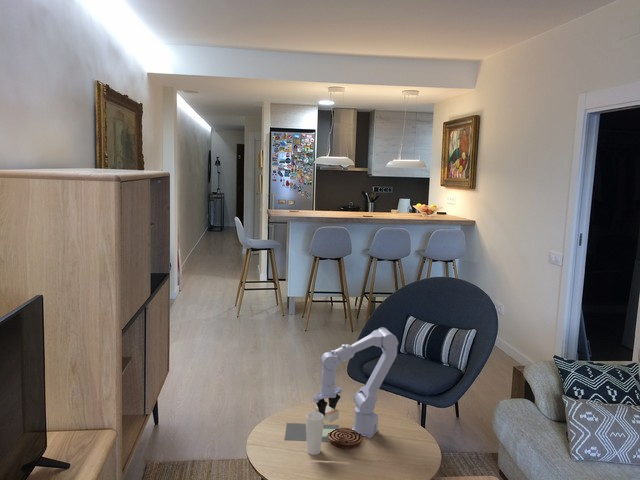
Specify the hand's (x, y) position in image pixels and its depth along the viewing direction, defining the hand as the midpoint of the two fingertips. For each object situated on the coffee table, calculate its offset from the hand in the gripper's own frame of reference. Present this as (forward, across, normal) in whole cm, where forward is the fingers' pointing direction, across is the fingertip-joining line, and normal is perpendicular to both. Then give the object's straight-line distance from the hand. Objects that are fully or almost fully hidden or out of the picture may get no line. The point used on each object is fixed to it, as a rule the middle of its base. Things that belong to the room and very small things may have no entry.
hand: (326, 413), depth 217 cm
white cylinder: (+9, -13, -6) cm, 17 cm away
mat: (+9, -4, +4) cm, 10 cm away
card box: (+1, 0, 0) cm, 1 cm away
